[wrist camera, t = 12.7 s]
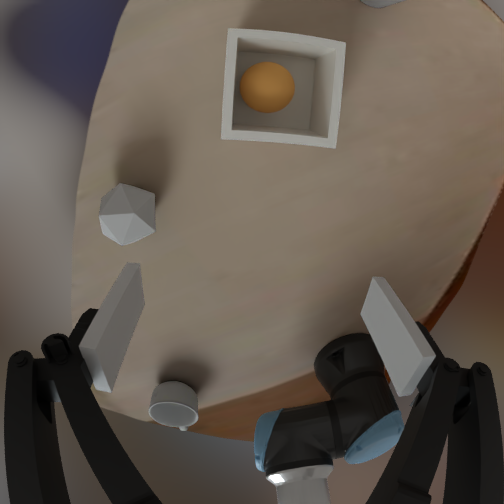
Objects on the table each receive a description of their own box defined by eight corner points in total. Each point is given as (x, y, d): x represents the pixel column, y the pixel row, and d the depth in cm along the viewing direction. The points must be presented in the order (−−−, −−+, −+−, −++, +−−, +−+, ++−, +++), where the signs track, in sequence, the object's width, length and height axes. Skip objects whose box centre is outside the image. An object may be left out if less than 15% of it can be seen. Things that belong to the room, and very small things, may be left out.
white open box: (321, 54, 33) (345, 42, 24) (314, 137, 39) (335, 148, 30) (230, 45, 32) (228, 28, 23) (225, 130, 38) (221, 139, 29)
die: (101, 193, 42) (88, 250, 38) (115, 160, 36) (99, 223, 32) (148, 207, 46) (140, 263, 42) (169, 178, 40) (161, 240, 36)
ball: (302, 67, 32) (288, 58, 27) (298, 115, 35) (283, 115, 30) (253, 65, 34) (232, 57, 29) (250, 111, 37) (228, 111, 32)
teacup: (150, 372, 60) (143, 401, 53) (198, 376, 61) (195, 406, 54) (161, 405, 67) (156, 431, 60) (203, 408, 67) (201, 435, 60)
